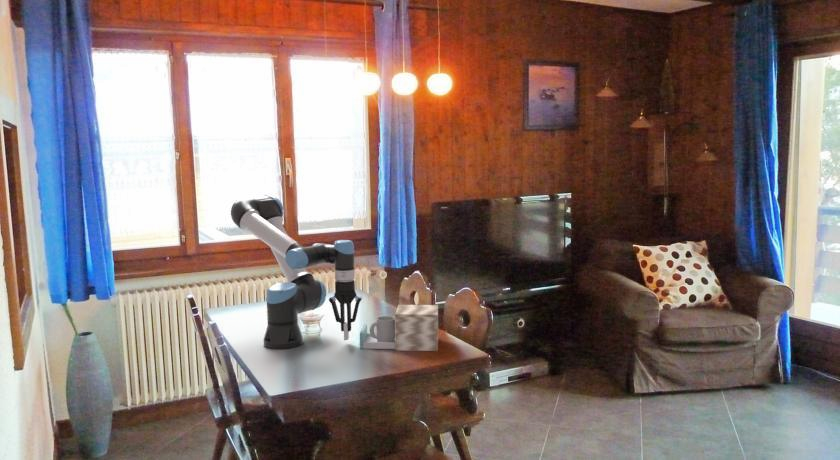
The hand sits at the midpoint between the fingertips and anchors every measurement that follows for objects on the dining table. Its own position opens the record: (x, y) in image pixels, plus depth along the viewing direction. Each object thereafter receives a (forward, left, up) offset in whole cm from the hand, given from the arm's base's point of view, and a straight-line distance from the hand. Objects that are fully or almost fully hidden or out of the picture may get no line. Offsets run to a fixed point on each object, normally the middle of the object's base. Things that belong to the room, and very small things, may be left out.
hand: (346, 339), depth 255 cm
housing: (+28, 0, -2) cm, 28 cm away
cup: (+14, 0, -1) cm, 14 cm away
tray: (+16, 0, -2) cm, 16 cm away
